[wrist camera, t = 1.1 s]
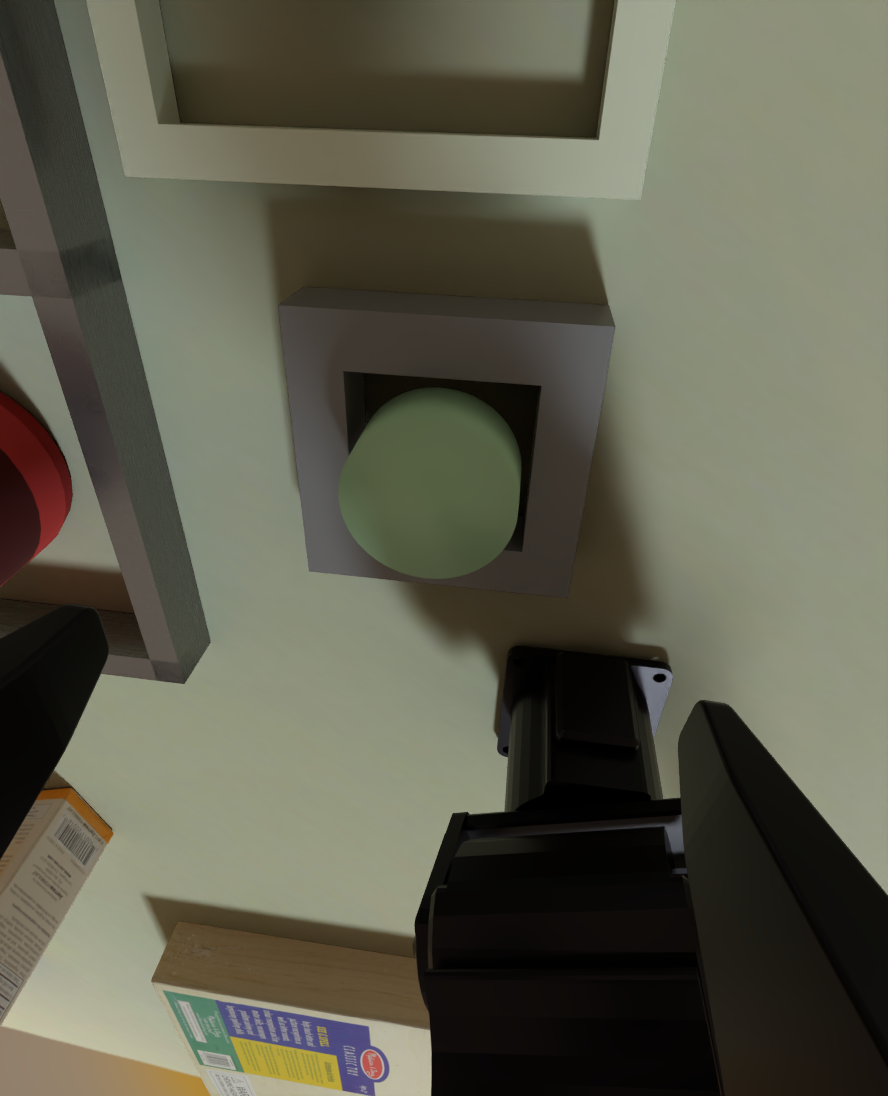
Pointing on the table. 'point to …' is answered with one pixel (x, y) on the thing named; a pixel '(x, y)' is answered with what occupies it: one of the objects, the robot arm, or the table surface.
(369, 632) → the table surface
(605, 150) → the white square frame
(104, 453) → the grey divided tray
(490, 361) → the button housing
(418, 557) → the button
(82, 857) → the supplement box
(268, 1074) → the puzzle box
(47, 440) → the canned food
